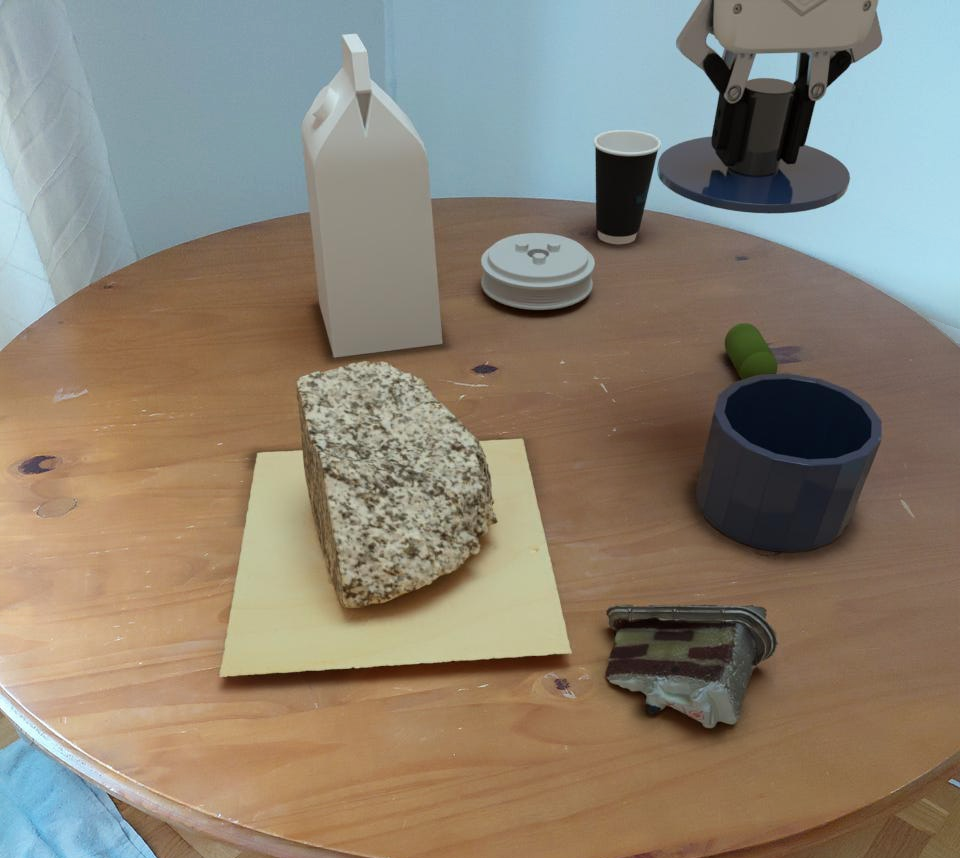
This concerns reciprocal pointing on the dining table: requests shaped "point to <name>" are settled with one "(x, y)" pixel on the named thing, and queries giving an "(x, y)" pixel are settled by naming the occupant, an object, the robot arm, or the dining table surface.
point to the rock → (389, 538)
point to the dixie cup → (622, 182)
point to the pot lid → (756, 162)
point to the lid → (537, 271)
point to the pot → (786, 461)
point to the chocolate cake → (689, 656)
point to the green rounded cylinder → (749, 351)
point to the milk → (370, 215)
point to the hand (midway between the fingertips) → (755, 155)
